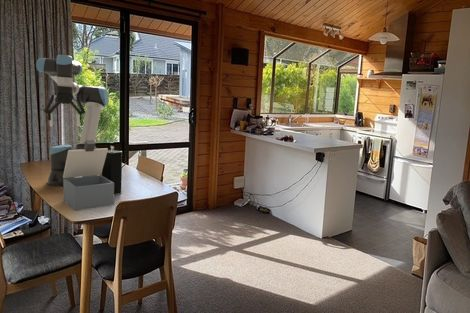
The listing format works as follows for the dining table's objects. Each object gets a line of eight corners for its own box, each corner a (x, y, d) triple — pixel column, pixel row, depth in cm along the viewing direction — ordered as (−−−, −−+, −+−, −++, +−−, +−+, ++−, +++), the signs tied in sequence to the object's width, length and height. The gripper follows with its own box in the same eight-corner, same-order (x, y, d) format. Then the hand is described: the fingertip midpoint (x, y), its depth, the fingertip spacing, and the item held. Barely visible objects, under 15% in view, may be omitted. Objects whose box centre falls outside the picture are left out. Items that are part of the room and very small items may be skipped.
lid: (63, 179, 195) (62, 175, 196) (101, 175, 208) (100, 172, 209) (70, 144, 182) (69, 140, 184) (110, 143, 195) (108, 139, 197)
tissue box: (110, 196, 211) (111, 147, 206) (101, 193, 215) (102, 145, 210) (121, 193, 218) (122, 146, 213) (112, 190, 222) (113, 144, 217)
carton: (63, 200, 198) (63, 178, 195) (100, 195, 211) (101, 175, 208) (74, 210, 184) (74, 187, 182) (113, 204, 197) (114, 183, 195)
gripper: (40, 84, 183) (41, 127, 187) (91, 87, 199) (91, 127, 203) (36, 83, 188) (37, 125, 192) (86, 86, 204) (86, 125, 208)
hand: (65, 126), depth 197 cm, fingers open, 13 cm apart
